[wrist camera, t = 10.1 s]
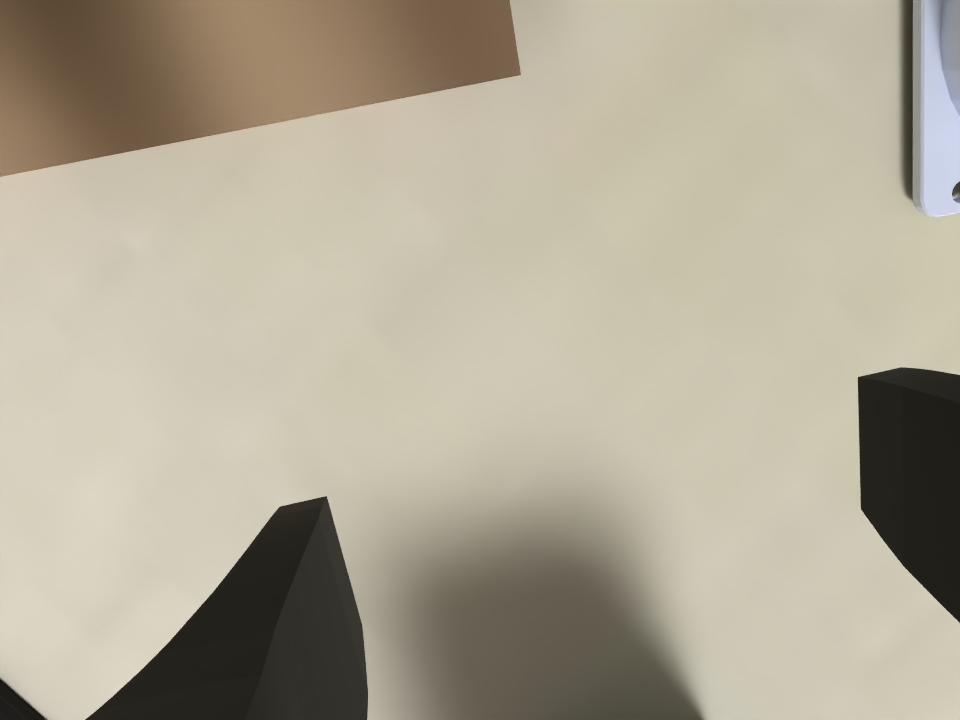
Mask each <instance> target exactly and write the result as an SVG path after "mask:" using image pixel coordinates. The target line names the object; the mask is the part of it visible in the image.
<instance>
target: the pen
mask: <svg viewBox="0 0 960 720" xmlns="http://www.w3.org/2000/svg"><path fill="white" fill-rule="evenodd" d="M0 720H45V719H44V718H43V717H42V716H41V715H39V714H38V713H37V712H36V711H35V710H34V709H33V708H32V707H30V706H29V705H28V704H27V703H26V702H25V701H24V700H23V699H21V698H20V697H19V696H18V695H17V694H16V693H15V692H14V691H12V690H11V689H10V688H9V687H8V686H7V685H6V684H4V683H3V682H2V681H1V680H0Z"/></svg>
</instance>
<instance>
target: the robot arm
mask: <svg viewBox="0 0 960 720" xmlns="http://www.w3.org/2000/svg"><path fill="white" fill-rule="evenodd" d="M958 182H960V0H913V202H914V206H915V207H916V209H917V210H918V211H919V212H921V213H923V214H925V215H928V216H932V217H942V216H947V215H952V214H956V213H960V194H959V196H958V197H957V198H955V199H953V197H952V191H953V188H954V186H955V185H956V184H957V183H958ZM858 402H859V445H860V487H861V510H862V511H863V512H864V514H865V515H866V517H867V518H868V519H869V521H870V522H871V524H872V525H873V526H874V528H875V529H876V531H877V532H878V533H879V535H880V536H881V538H882V539H883V540H884V542H885V543H886V544H887V546H888V547H889V548H890V549H891V551H892V552H893V553H894V554H895V556H896V557H897V558H898V560H899V561H900V562H901V563H902V565H903V566H904V567H905V568H906V569H907V570H908V571H909V572H910V573H911V574H912V575H913V576H914V577H915V578H916V579H917V580H918V581H919V582H920V583H921V584H922V585H923V587H924V588H925V589H926V590H927V591H928V592H929V593H930V594H931V595H932V596H933V597H934V598H935V599H936V600H937V601H938V602H939V603H940V604H941V605H942V606H943V607H944V608H945V609H946V610H947V611H948V612H949V613H950V614H951V615H952V616H953V617H954V618H956V619H957V620H958V621H959V622H960V375H956V374H950V373H944V372H939V371H932V370H925V369H916V368H897V369H892V370H888V371H883V372H879V373H874V374H870V375H865V376H861V377H858ZM367 710H368V687H367V674H366V662H365V651H364V640H363V629H362V623H361V620H360V616H359V612H358V609H357V605H356V601H355V598H354V594H353V590H352V587H351V583H350V580H349V576H348V572H347V569H346V565H345V561H344V558H343V554H342V550H341V547H340V543H339V540H338V536H337V532H336V529H335V525H334V521H333V518H332V514H331V510H330V507H329V503H328V499H327V496H326V497H321V498H317V499H312V500H308V501H303V502H299V503H294V504H290V505H285V506H281V507H279V508H278V510H277V511H276V512H275V513H274V514H273V516H272V517H271V518H270V519H269V521H268V522H267V523H266V525H265V526H264V527H263V529H262V530H261V531H260V533H259V534H258V535H257V537H256V538H255V539H254V541H253V542H252V543H251V545H250V546H249V547H248V549H247V550H246V551H245V553H244V554H243V555H242V556H241V558H240V559H239V560H238V561H237V563H236V564H235V565H234V567H233V568H232V569H231V570H230V572H229V573H228V574H227V575H226V577H225V578H224V579H223V581H222V582H221V583H220V584H219V586H218V587H217V588H216V589H215V591H214V592H213V593H212V594H211V595H210V596H209V598H208V599H207V600H206V601H205V602H204V603H203V604H202V605H201V607H200V608H199V609H198V610H197V611H196V612H195V613H194V615H193V616H192V617H191V618H190V619H189V620H188V621H187V622H186V624H185V625H184V626H183V627H182V628H181V629H180V630H179V631H178V633H177V634H176V635H175V636H174V637H173V638H172V639H171V641H170V642H169V643H168V644H167V645H166V646H165V647H164V648H163V649H162V650H161V651H160V652H159V653H158V654H157V655H156V656H155V657H154V658H153V659H152V660H151V661H150V662H149V663H148V664H147V665H146V666H145V667H144V668H143V669H142V670H141V671H140V672H139V673H138V674H137V675H136V676H134V677H133V678H132V679H131V680H130V681H129V682H128V683H127V684H126V685H125V686H124V687H123V688H121V689H120V690H119V691H118V692H117V693H116V694H115V695H114V696H113V697H112V698H111V699H109V700H108V701H107V702H106V703H105V704H104V705H103V706H101V707H100V708H99V709H98V710H97V711H96V712H94V713H93V714H92V715H91V716H89V717H88V718H87V719H86V720H367Z"/></svg>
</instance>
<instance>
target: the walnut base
mask: <svg viewBox="0 0 960 720" xmlns="http://www.w3.org/2000/svg"><path fill="white" fill-rule="evenodd" d="M518 75H521V73H520V66H519V60H518V53H517V47H516V40H515V34H514V27H513V21H512V14H511V8H510V1H509V0H0V177H1V176H6V175H11V174H16V173H22V172H27V171H32V170H37V169H42V168H47V167H52V166H57V165H62V164H68V163H73V162H78V161H83V160H88V159H93V158H98V157H103V156H108V155H114V154H119V153H124V152H129V151H134V150H139V149H144V148H149V147H155V146H160V145H165V144H170V143H175V142H180V141H185V140H190V139H195V138H201V137H206V136H211V135H216V134H221V133H226V132H231V131H236V130H241V129H247V128H252V127H257V126H262V125H267V124H272V123H277V122H282V121H288V120H293V119H298V118H303V117H308V116H313V115H318V114H323V113H328V112H334V111H339V110H344V109H349V108H354V107H359V106H364V105H369V104H374V103H380V102H385V101H390V100H395V99H400V98H405V97H410V96H415V95H420V94H426V93H431V92H436V91H441V90H446V89H451V88H456V87H461V86H467V85H472V84H477V83H482V82H487V81H492V80H497V79H502V78H507V77H513V76H518Z"/></svg>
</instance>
